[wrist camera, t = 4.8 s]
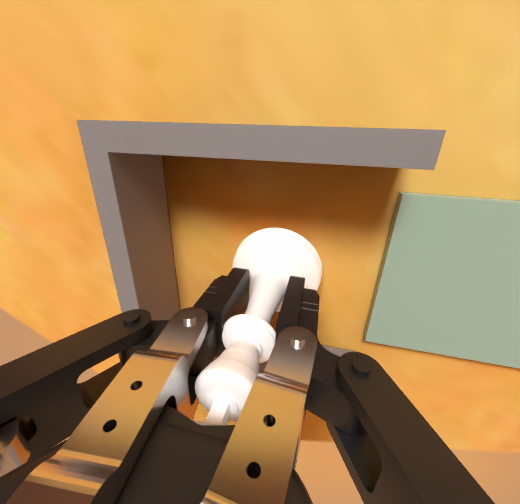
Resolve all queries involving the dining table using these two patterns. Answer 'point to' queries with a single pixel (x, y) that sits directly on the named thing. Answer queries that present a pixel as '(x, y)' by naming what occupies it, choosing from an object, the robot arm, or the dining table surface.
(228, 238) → the dining table surface
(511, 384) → the dining table surface
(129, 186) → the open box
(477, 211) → the mat
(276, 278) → the chess piece
